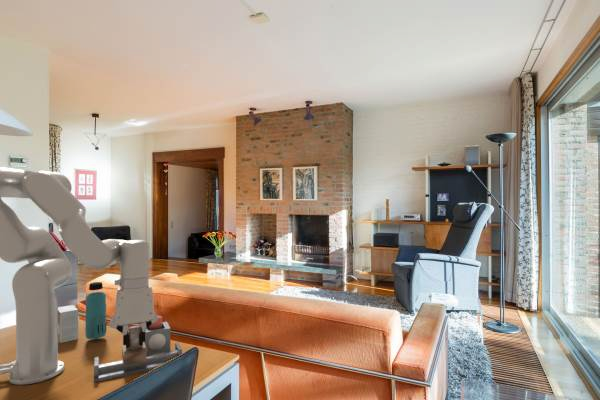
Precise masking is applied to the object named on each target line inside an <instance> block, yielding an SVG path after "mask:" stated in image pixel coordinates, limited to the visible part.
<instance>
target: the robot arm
mask: <svg viewBox="0 0 600 400" xmlns="http://www.w3.org/2000/svg"><path fill="white" fill-rule="evenodd" d="M2 198H16V199H17V198H19V199H29V200H31V202H33V203H34V204H35V205H36V206H37V207H38V208H39V210H40V211H41V212H43V213H44V214H45V215H46V216H47V217H48V218H49V219H50V221H52V223H53V224H54V225H55V226H56V227H57V229H58V232H59V235H60V237H61V239H62V241H63V243H64V245H65V246H66V247H67V249H68V250H69V252H71V254H72V255H74V256H75V257H76V259H78V261H80V262H81V263H82V264H83V265H84V266H85V267H87V268H89V269H91V270H95V271H97V270H98V271H99V270H104V269H106V268H109V267H111V266H113V265H116V264H120V265H119V266H120V268H119V269H120V271H119V273H120V275H119V279H117V280H114V286H118V288H117V291H116V297H115V304H114V314H113V316H112V318H111V320H110V322H109V324H108V327H109V328H111V329H114V330H117V331H118V332H120V333H121V334H122V346H124V345H126V349H128V348H129V325H136V324H140V346H143V342H145V331H146V330H147V329H148V328H149V326H150V325H151V324H152V323H154V322H156V321H157V320H158V319H159V318H158V316H159V315H158V314H157V313H156V311H155V306H154V293H153V287H152V285H150V283H149V281H150V280H149V279H150V278H149V277H150V276H149V275H150V274H149V272H150V271H149V270H150V267H149V266H150V245H149V242H148V241H147V240H144V239H129V240H125V239H116V238H108V239H103V240H101V239H100V238H99V237H98V236H97V235H96V234H95V233H94V232H93V230H92V229H91V228H90V227H89V225H88V223H87V221H86V213H87V212H86V211H87V209H86V207H85V205H83V203H82V202H80V200H79V199H78V198H77V197H76V196H75V195H74V194H73V193H72V183H71V181H70V180H69V179H68V177H67V176H65V175H64V174H62V173H59V172H54V171H47V170H35V171H34V170H25V169H18V168H9V167H3V166H1V167H0V259H1V260H2V261H4V262H5V263H9V264H15V263H21V262H25V261H27V262H28V263H26V264H24V265H22V266H21V267H20V268H19V269H18V270H17V271H16V272H15V274H14V275H13V277H12V280H11V281H12V282H11V285H12V293H13V296H14V302H15V323H16V324H15V325H16V326H15V360H13V361H11V362H10V363H6V364H5V363H3V364H0V375H5V374H8V382H9V383H10V384H13V385H30V384H31V385H32V384H37V383H40V382H43V381H46V380H49V379H51V378H54V377H56V376H57V375H59V374H61V373H62V372H63V371H64V369H65V363H64V361H62V360H60V359H59V341H58V307H59V306H58V300H57V296H56V293H55V290H56V289H58V288H60V287H62V286H64V285H65V284H67V283H68V282H69V281H70V279H71V278H72V275H73V268H72V264H71V262H70V260H69V258H68V257H67V256H66V254H65V253H64V250H63V249H62V248H61V246H60V245H59V244H58V242H57V241H56V239H55V238H54V237H53V236H52V234H51V233H50V232H49V231H47V230H46V229H45V228H42V227H39V226H25V225H24V224H23V221H21V219H20V218H19V216H18V215H17V213H16V212H15V210H14V209H12V208H11V207H10V206H9V205H8V204H7V203H5V201H3V200H2Z"/></svg>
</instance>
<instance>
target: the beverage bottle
mask: <svg viewBox="0 0 600 400" xmlns="http://www.w3.org/2000/svg"><path fill="white" fill-rule="evenodd" d="M88 287H89V288H88V290H89V291H92V292H89V293H87V294H86V296H85V322H84V324H85V325H84V326H85V328H84V333H85V339H87V340H96V339H101V338H103V337H105V336H106V334H107V331H108V330H107V329H108V327H107V325H108V324H107V306H108V305H107V294H106V292H104V291H102V289H103V288H104V287H103V283H102V282H100V281H95V282H91V283H89V285H88ZM99 290H101V291H99Z"/></svg>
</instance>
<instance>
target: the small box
mask: <svg viewBox="0 0 600 400" xmlns="http://www.w3.org/2000/svg"><path fill="white" fill-rule="evenodd" d="M78 339H79V309H78V308H77V306H76V305H74V304H70V305H65V306H58V344H62V343H66V342H71V341H75V340H78Z"/></svg>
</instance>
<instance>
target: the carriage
mask: <svg viewBox="0 0 600 400" xmlns="http://www.w3.org/2000/svg"><path fill="white" fill-rule="evenodd" d="M140 328H141V325H132V326H128V332H129V348H128V349H126V345H122V346H121V357H122V360H123V366H124V365H129V364H134V363H139V362H144V361H147V350H146V346H145V343H144V342H143V346H140Z"/></svg>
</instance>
